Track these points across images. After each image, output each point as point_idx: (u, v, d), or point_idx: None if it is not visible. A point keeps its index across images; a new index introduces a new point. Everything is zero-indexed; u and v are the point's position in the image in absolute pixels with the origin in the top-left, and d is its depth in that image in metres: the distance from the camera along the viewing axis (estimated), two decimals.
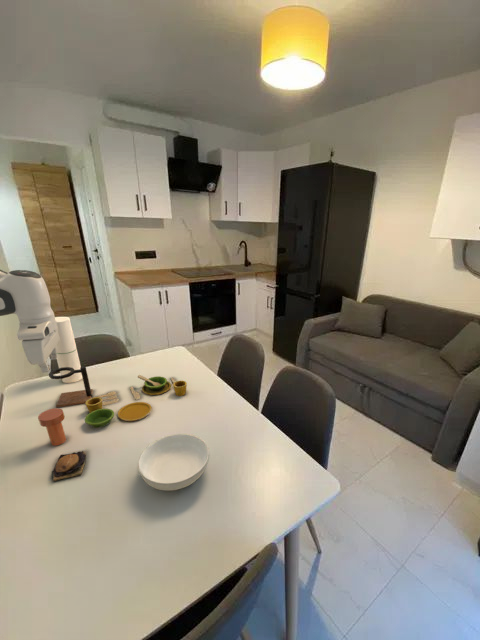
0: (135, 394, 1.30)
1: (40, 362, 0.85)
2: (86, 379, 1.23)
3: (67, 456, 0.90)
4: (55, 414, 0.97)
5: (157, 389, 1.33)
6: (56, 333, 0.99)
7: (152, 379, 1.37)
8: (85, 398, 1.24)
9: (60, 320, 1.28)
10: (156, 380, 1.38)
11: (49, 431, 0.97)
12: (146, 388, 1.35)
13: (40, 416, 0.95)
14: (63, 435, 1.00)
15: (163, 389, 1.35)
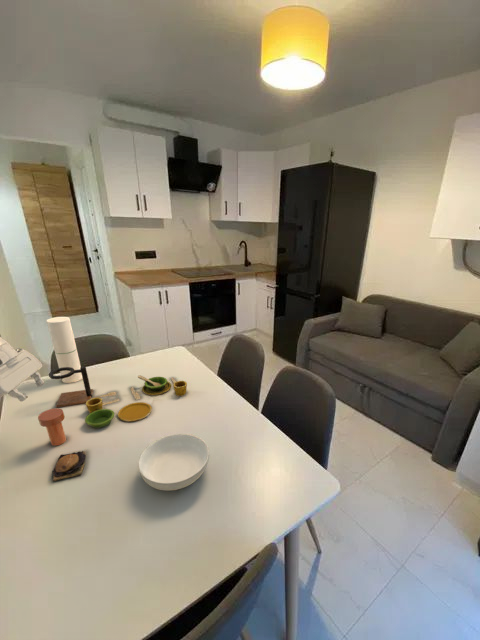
0: (135, 394, 1.30)
1: (3, 393, 0.84)
2: (86, 379, 1.23)
3: (67, 456, 0.90)
4: (55, 414, 0.97)
5: (157, 389, 1.33)
6: (33, 360, 0.99)
7: (152, 379, 1.37)
8: (85, 398, 1.24)
9: (60, 320, 1.28)
10: (156, 381, 1.38)
11: (49, 431, 0.97)
12: (146, 389, 1.35)
13: (40, 416, 0.95)
14: (63, 435, 1.00)
15: (163, 389, 1.35)
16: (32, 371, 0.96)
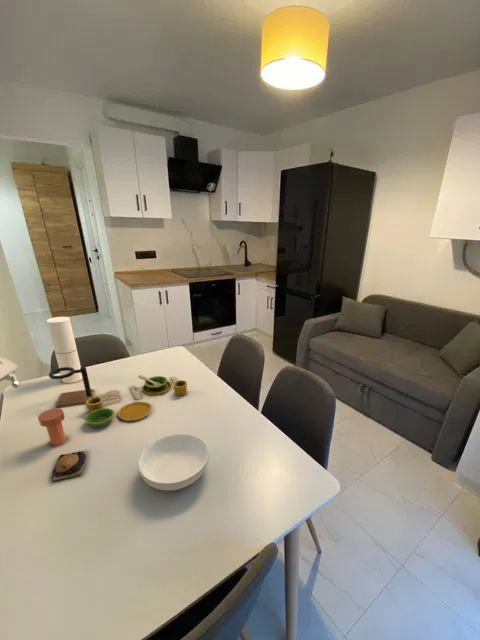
0: (135, 393, 1.30)
1: None
2: (86, 379, 1.23)
3: (67, 456, 0.90)
4: (55, 414, 0.97)
5: (157, 389, 1.33)
6: (5, 363, 0.97)
7: (152, 379, 1.37)
8: (85, 398, 1.24)
9: (60, 320, 1.28)
10: (157, 380, 1.38)
11: (49, 431, 0.97)
12: (146, 388, 1.35)
13: (40, 416, 0.95)
14: (63, 435, 1.00)
15: (163, 389, 1.35)
16: (3, 373, 0.94)
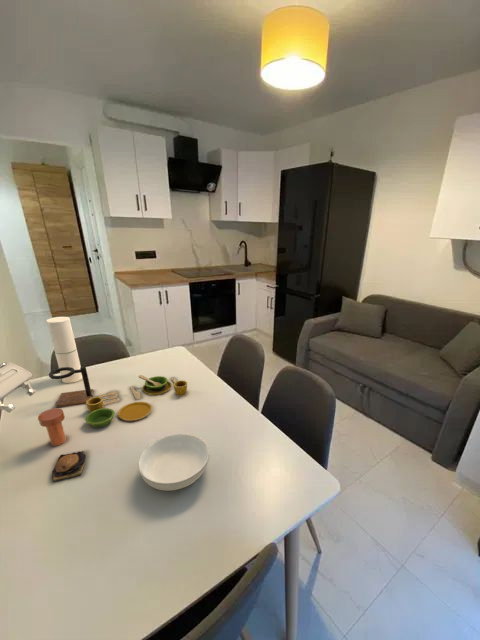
0: (135, 393, 1.30)
1: None
2: (86, 379, 1.23)
3: (67, 456, 0.90)
4: (55, 414, 0.97)
5: (158, 389, 1.33)
6: (20, 371, 0.98)
7: (153, 379, 1.37)
8: (85, 398, 1.24)
9: (60, 320, 1.28)
10: (157, 380, 1.38)
11: (49, 431, 0.97)
12: (147, 388, 1.35)
13: (40, 416, 0.95)
14: (63, 435, 1.00)
15: (164, 389, 1.35)
16: (19, 382, 0.96)
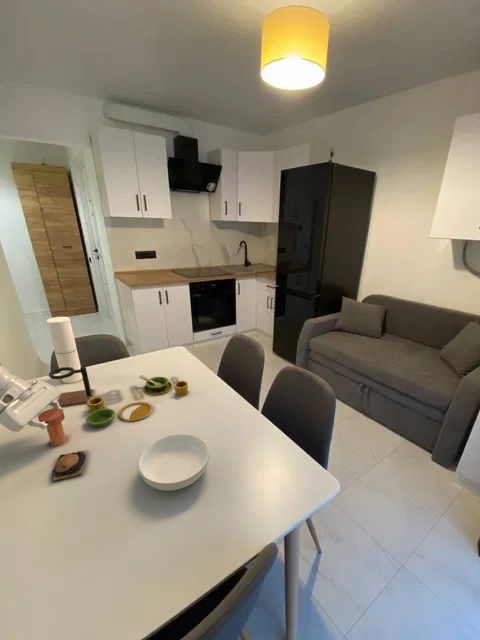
0: (136, 394, 1.31)
1: (19, 427, 0.87)
2: (86, 379, 1.23)
3: (67, 456, 0.90)
4: (55, 414, 0.97)
5: (158, 389, 1.33)
6: (49, 389, 1.01)
7: (154, 379, 1.38)
8: (85, 398, 1.24)
9: (60, 320, 1.28)
10: (158, 381, 1.38)
11: (49, 431, 0.97)
12: (148, 388, 1.35)
13: (40, 416, 0.95)
14: (63, 435, 1.00)
15: (164, 389, 1.35)
16: (49, 399, 0.99)
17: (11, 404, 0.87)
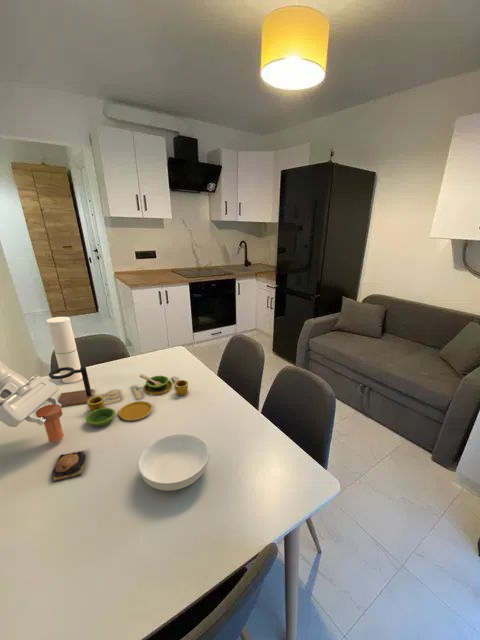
0: (136, 393, 1.31)
1: (17, 422, 0.86)
2: (86, 379, 1.23)
3: (67, 456, 0.90)
4: (53, 410, 0.96)
5: (159, 388, 1.33)
6: (48, 385, 1.01)
7: (154, 378, 1.38)
8: (85, 398, 1.24)
9: (60, 320, 1.28)
10: (158, 380, 1.38)
11: (47, 427, 0.96)
12: (148, 388, 1.35)
13: (38, 412, 0.95)
14: (61, 431, 1.00)
15: (165, 388, 1.35)
16: (47, 395, 0.98)
17: (9, 399, 0.87)
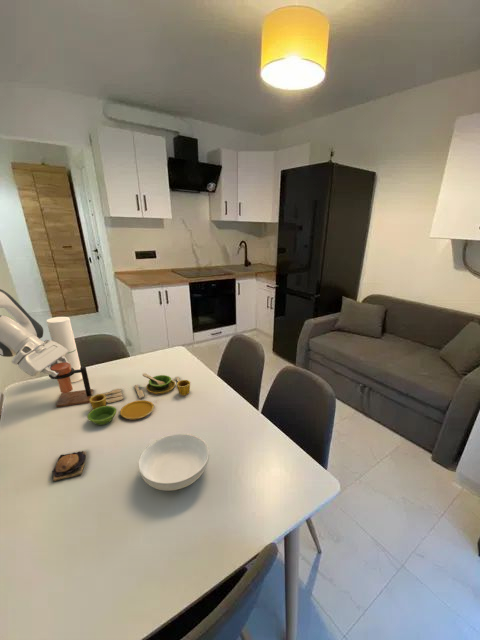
0: (139, 392, 1.31)
1: (36, 372, 1.08)
2: (86, 379, 1.23)
3: (67, 456, 0.90)
4: (64, 366, 1.18)
5: (161, 388, 1.33)
6: (59, 347, 1.23)
7: (157, 378, 1.38)
8: (85, 398, 1.24)
9: (60, 320, 1.28)
10: (161, 379, 1.38)
11: (59, 380, 1.18)
12: (150, 387, 1.35)
13: (52, 367, 1.17)
14: (70, 385, 1.22)
15: (167, 388, 1.35)
16: (59, 355, 1.20)
17: (29, 354, 1.09)
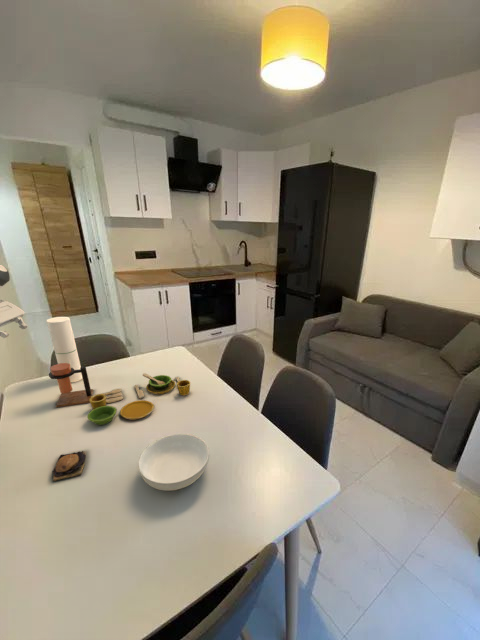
0: (139, 392, 1.31)
1: None
2: (86, 379, 1.23)
3: (67, 456, 0.90)
4: (64, 366, 1.18)
5: (161, 388, 1.33)
6: (14, 308, 1.13)
7: (157, 378, 1.38)
8: (85, 398, 1.24)
9: (60, 320, 1.28)
10: (161, 379, 1.38)
11: (59, 380, 1.18)
12: (150, 387, 1.35)
13: (52, 367, 1.17)
14: (70, 385, 1.22)
15: (167, 388, 1.35)
16: (13, 315, 1.11)
17: None
